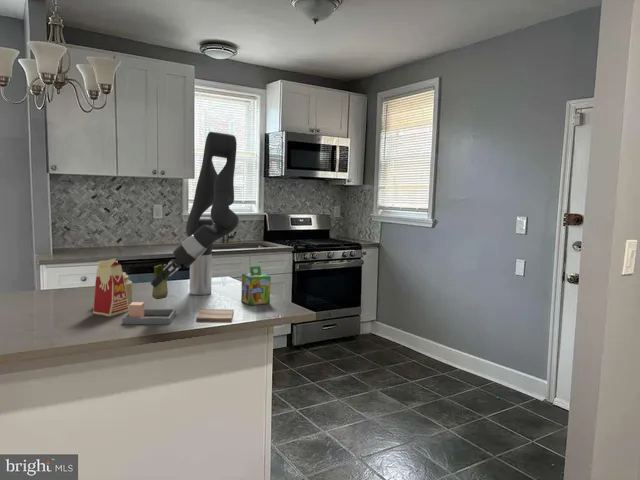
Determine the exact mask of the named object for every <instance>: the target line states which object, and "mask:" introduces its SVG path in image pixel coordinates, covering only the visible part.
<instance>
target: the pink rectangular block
mask: <svg viewBox="0 0 640 480" xmlns="http://www.w3.org/2000/svg"><path fill="white" fill-rule="evenodd" d="M144 309H145V301H143V302H142V301H141V302H140V301H132V303H131V304H130V305H129V311H128V312H129V318H145V315H144Z"/></svg>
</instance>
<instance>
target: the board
mask: <svg viewBox="0 0 640 480" xmlns="http://www.w3.org/2000/svg"><path fill="white" fill-rule="evenodd" d="M233 316H234V309H229V308H228V309H227V308H226V309H225V308H223V309H216V308H215V309H214V308H213V309H211V308H210V309H209V308H208V309H205V308H204V309H203V308H202V309H200V310H199V312H198V313H197V316H196V319H195V322H196V323H197V322H202V323H203V322H207V323H208V322H216V323H217V322H220V323H221V322H227V323H228V322H229V323H231V322H233V321H232V320H233Z"/></svg>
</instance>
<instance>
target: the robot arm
mask: <svg viewBox="0 0 640 480" xmlns="http://www.w3.org/2000/svg"><path fill="white" fill-rule="evenodd" d="M205 139H206V140H205V145H204V149H203V156H202V163H201V166H200V167H201V168H200V171H199V175H198V178H197V183H196V188H195V193H194V197H193V203H192V206H191V208H190V211H189V214H188V215H189V216H188V217H187V218H188V219H187V221H186V227H185V233H186V236H187V238H186V239H184V241H182V242H181V244H179V245H178V246H177V247H176V248H175V249H174V250H173V251H172V253H173V256H174V257H175V259H174V258H172V259H171V260H170V261H169V262H168V263H167V264H166V267H165V268H164V269H163V272H162V273H161V274H159V275H158V277H157V278H156V279H154V278H153V280H152V281H151V283H150V285H151V286H152V288H153V287H157V286H158V285H159V284H160V283H161V282H162V281H164V280H165V279H166V280H167V278H168V277H172V275H173V274H174V273H176V272H177V271H178V270H179V269H181V268H182V266H181V265H183V266H184V267H188V268H189V294H190V295H192V296H193V295H195V296H205V295H210V294H212V280H213V279H212V274H213V273H212V272H213V271H212V270H213V269H212V266H213V265H212V264H213V262H212V261H213V260H212V259H213V257H212V256H213V244H214V243H215V242H216V241H218V240H220V239H222V238H223V237H225V236H227V235H228V234H230V233H232V232H233V231H234V230H235V229H236V228H237V227H238V225H239V221H240V220H239V217H238V214H236V213H235V212H234V211H233V210H232V209H231V208H230V206H231V205H233V203H234V201H235V185H234V184H235V183H234V181H235V180H234V179H235V169H236V168H235V167H236V160H237V159H236V158H237V138H236V136H235V135H234V134H231V133H227V132H222V131H221V132H220V131H215V130H211V131H209V132H208V133H207V136H206V138H205ZM214 157H218V158H221V159H223V158H224V159H226V163H225V165H224V166H223V167H222V169H221V170H220V172H219V173H217V170H216V169H215V168H216V167H215V165H214V163H213V158H214ZM210 207H211V208H210ZM209 208H210V217H209V216H202V215H203V214H204V213H205V212H206V211H207V210H208V209H209ZM163 273H165V274H166V277H165V276H164V275H163Z"/></svg>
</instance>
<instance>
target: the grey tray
mask: <svg viewBox="0 0 640 480" xmlns="http://www.w3.org/2000/svg"><path fill="white" fill-rule="evenodd" d="M176 315H177V309H176V308H144V316H168V317H144V318H129V311H127V313H126V314H125V315H124V316H123V317H122V318H121V321H122V325H170V324H171V323H172V321H173V320H174V318H175V317H176Z"/></svg>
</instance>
